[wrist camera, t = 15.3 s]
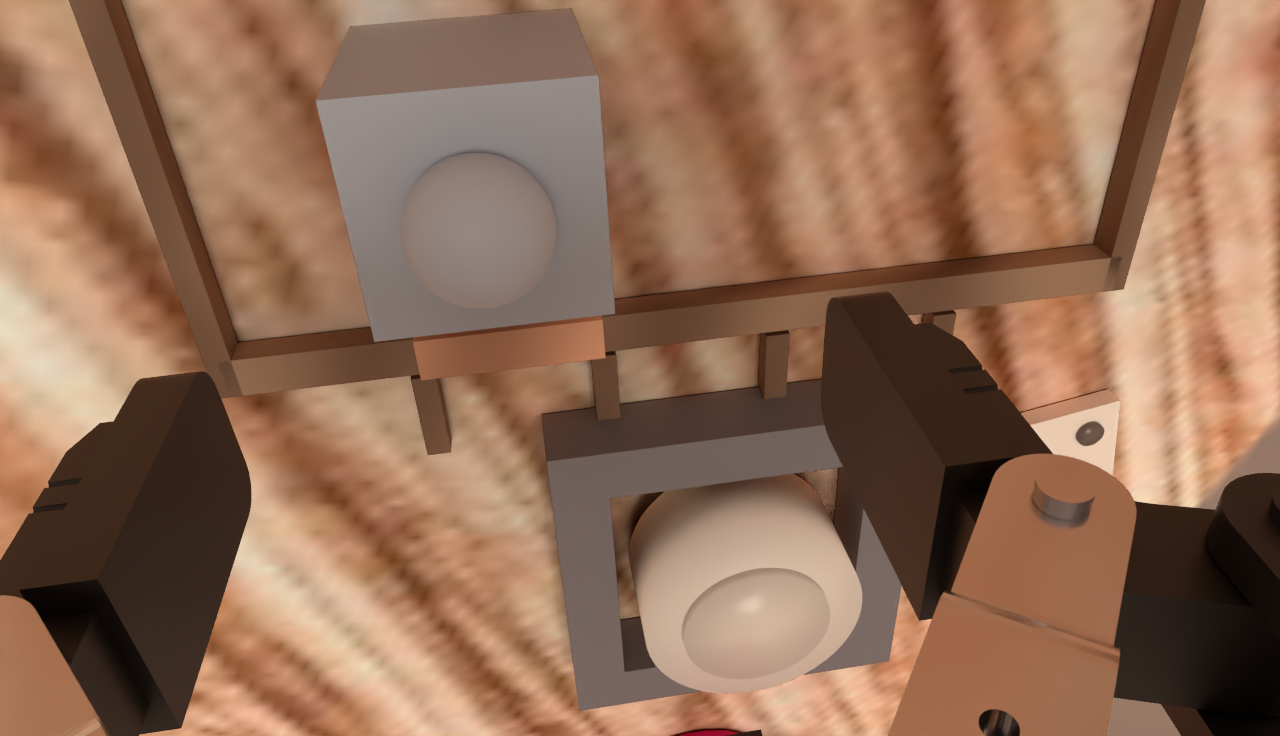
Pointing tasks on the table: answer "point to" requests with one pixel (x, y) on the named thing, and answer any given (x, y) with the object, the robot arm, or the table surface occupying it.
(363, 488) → the table surface
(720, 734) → the pepper mill
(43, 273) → the table surface
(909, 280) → the open rectangular frame
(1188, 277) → the table surface
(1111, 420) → the die tile
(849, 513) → the gray square frame
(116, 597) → the robot arm
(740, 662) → the dome
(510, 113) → the cube with round knob
